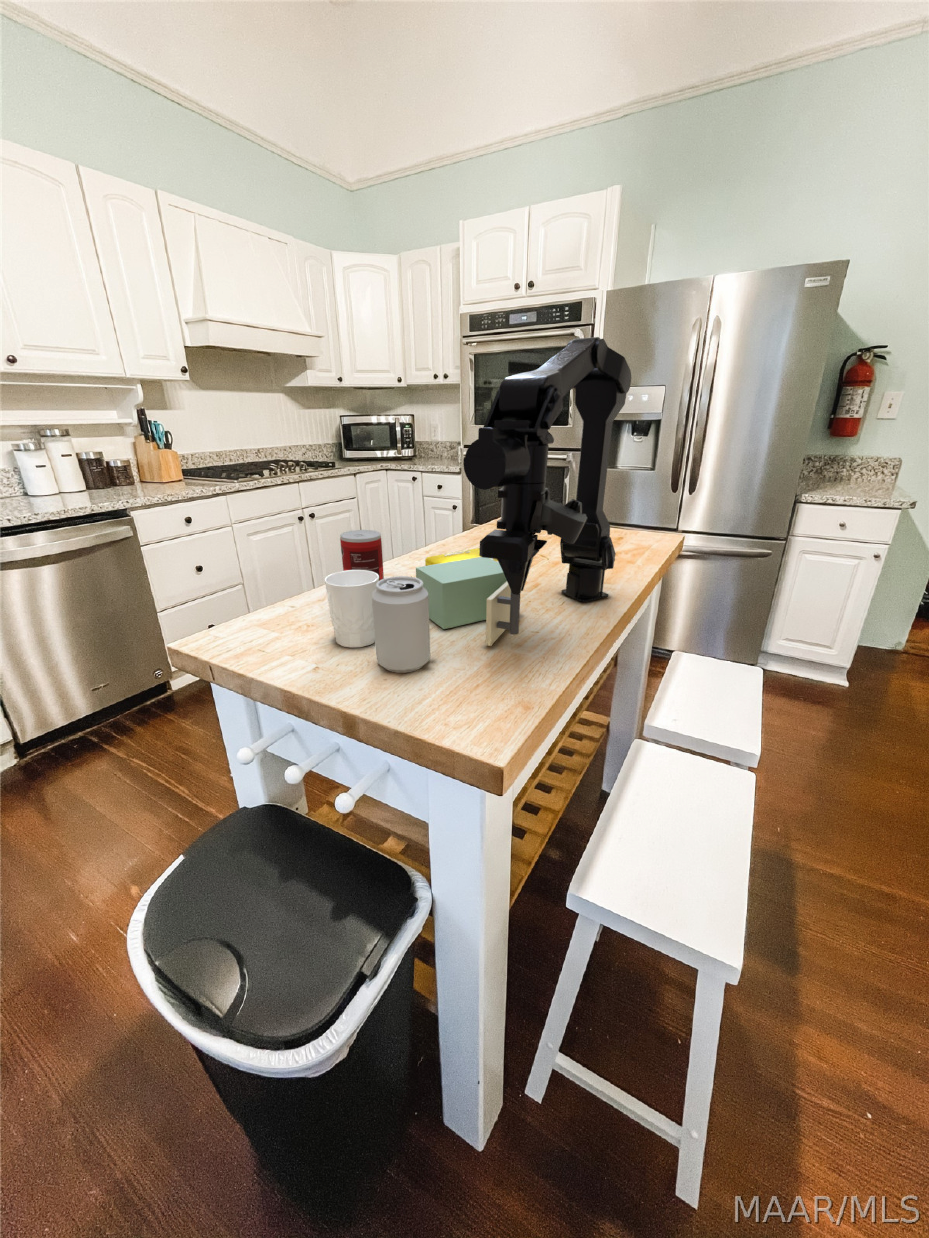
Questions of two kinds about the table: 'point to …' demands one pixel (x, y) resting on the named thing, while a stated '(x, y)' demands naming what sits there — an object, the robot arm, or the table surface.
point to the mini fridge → (460, 589)
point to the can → (401, 623)
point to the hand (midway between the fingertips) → (517, 592)
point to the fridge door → (502, 613)
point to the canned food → (362, 551)
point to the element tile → (453, 557)
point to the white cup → (352, 606)
